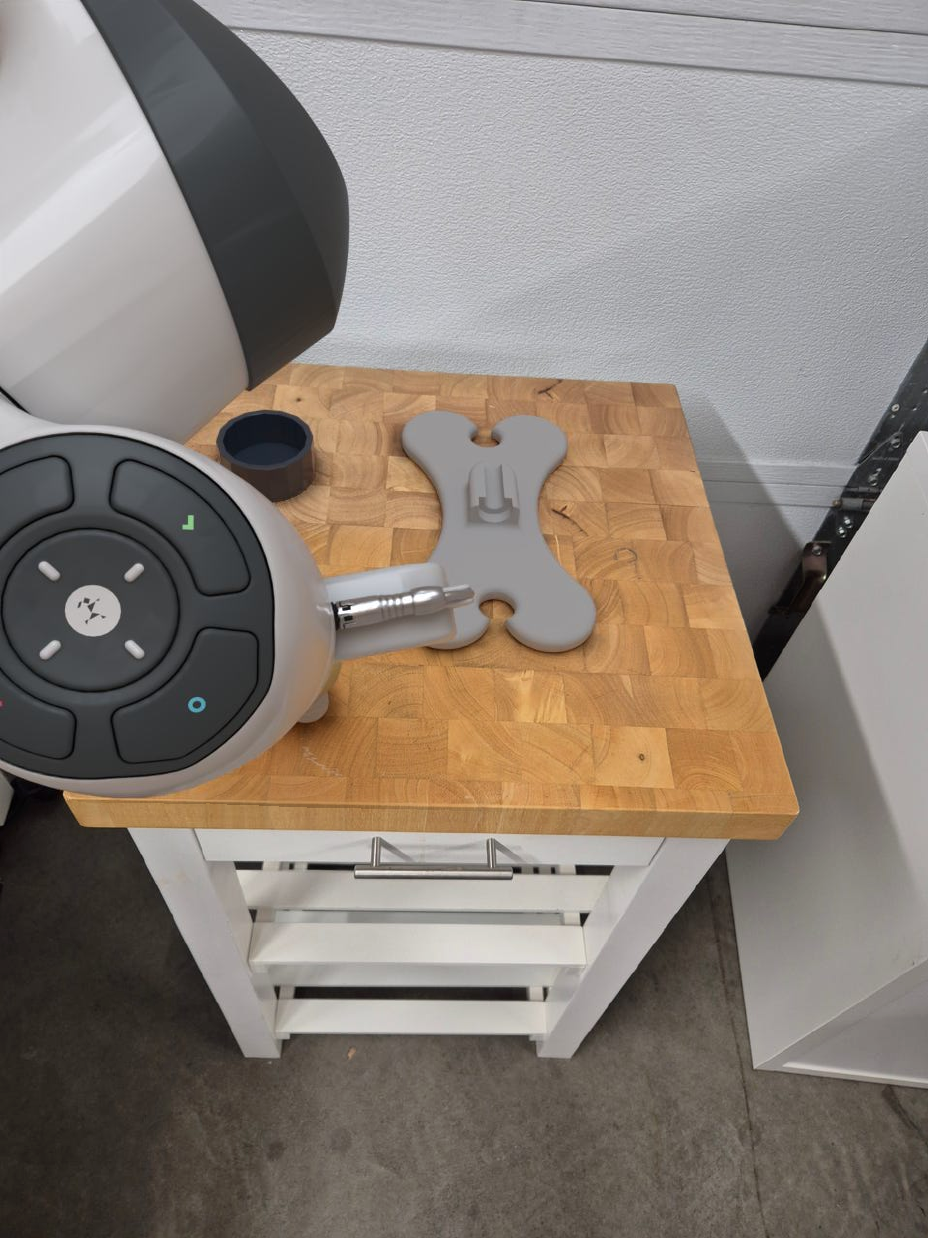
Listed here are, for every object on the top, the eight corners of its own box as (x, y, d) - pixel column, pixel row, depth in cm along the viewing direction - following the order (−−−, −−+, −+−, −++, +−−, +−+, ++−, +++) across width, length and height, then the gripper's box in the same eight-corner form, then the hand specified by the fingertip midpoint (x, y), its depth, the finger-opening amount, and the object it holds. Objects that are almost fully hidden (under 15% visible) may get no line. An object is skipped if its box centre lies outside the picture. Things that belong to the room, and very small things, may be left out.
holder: (561, 427, 98) (569, 392, 94) (599, 656, 76) (611, 623, 72) (402, 419, 96) (403, 383, 92) (395, 651, 75) (395, 616, 71)
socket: (214, 499, 85) (207, 465, 82) (232, 439, 91) (226, 406, 88) (308, 505, 86) (306, 472, 82) (320, 445, 92) (318, 413, 88)
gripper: (467, 512, 33) (433, 556, 47) (-73, 600, 30) (60, 619, 44) (496, 666, 33) (453, 664, 47) (-44, 770, 30) (80, 736, 44)
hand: (259, 643), depth 45 cm, fingers open, 8 cm apart
